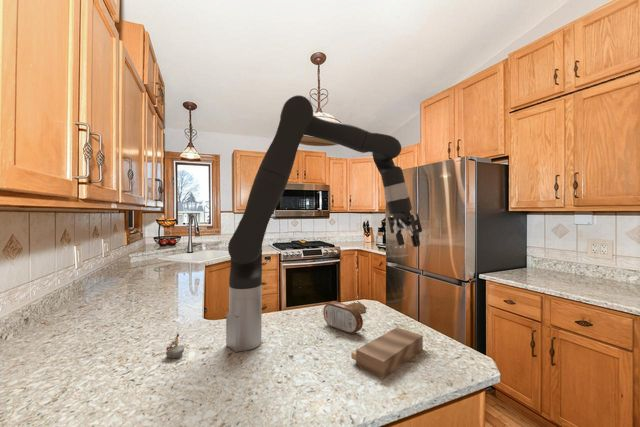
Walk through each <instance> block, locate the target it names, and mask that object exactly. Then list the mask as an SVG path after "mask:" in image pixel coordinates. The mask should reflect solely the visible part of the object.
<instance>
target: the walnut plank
mask: <svg viewBox="0 0 640 427" xmlns="http://www.w3.org/2000/svg"><path fill="white" fill-rule="evenodd" d="M423 337H424V336H423V334H419V333H416V332H414V331H413V332H412V331H410V330H408V329H404V328H401V327H399V326H398V327H397V326H396V327H395V328H393V329H391V330H389V331H387V332H386V333H384V334H382V335H380V336H378V337H377V338H375V339H373V340H371V341H369V342H367V343H366V344H364V345H362V346H360V347H359V348H357V349H355V350H354V351H352V352H350V353H351V359H352V360H354V361H355V366H356V367H358V366H359V367H358V368H360V367H361V368H360V369H362V370H364V371H366V372H367V373H368V372H369V373H370V374H372V375H374V376H376V377H378V378H381V379H382V380H385V379H386V378H387V377H388V376H389V375H391V374H393V373H394V372H395V371H396V370H397V369H399V368H401V366H403V365H404V364H406V363H407V362H408V361H410V360H411V359H412V358H414V357H415V356H416V355H417V354H419V353H420V352H422V351H423V349H424V347H423V346H424V345H423V344H424V342H423V341H424V340H423V339H424V338H423Z"/></svg>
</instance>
